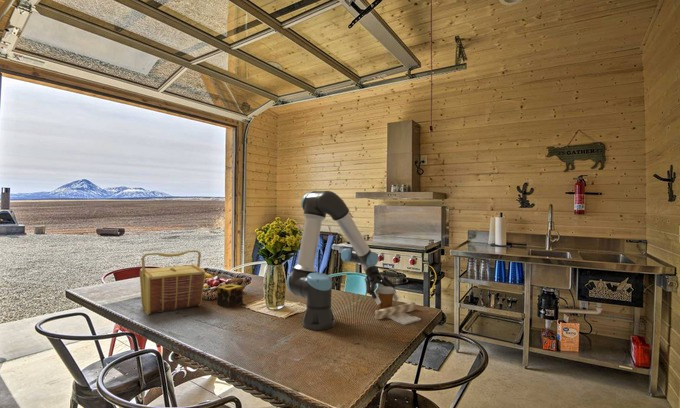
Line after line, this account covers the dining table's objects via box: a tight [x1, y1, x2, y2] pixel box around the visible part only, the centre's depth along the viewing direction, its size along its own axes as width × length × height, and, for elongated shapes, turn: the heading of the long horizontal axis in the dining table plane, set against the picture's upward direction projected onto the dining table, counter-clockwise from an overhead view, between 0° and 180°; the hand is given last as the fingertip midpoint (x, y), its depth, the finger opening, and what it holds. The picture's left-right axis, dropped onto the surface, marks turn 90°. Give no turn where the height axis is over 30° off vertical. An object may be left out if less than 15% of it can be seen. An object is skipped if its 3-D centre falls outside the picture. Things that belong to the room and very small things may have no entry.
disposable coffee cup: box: [376, 285, 395, 310], centre depth 177 cm, size 10×10×12 cm
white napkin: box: [386, 312, 422, 326], centre depth 163 cm, size 12×12×1 cm
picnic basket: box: [139, 249, 206, 315], centre depth 175 cm, size 29×26×30 cm
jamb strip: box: [374, 301, 416, 320], centre depth 170 cm, size 28×2×4 cm, turn 126°
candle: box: [216, 283, 244, 308], centre depth 183 cm, size 10×10×10 cm
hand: (388, 301), depth 175 cm, fingers open, 12 cm apart
